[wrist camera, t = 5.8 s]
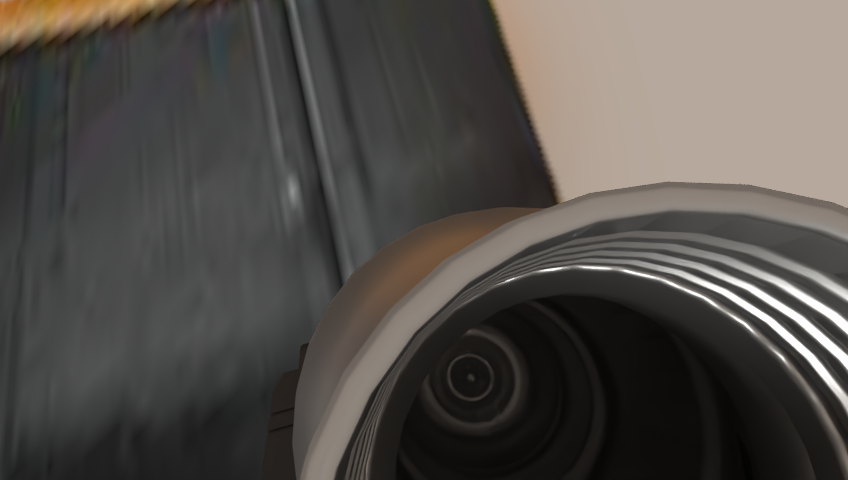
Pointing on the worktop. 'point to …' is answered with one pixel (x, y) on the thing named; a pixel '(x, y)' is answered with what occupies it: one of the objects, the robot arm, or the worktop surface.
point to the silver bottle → (590, 344)
